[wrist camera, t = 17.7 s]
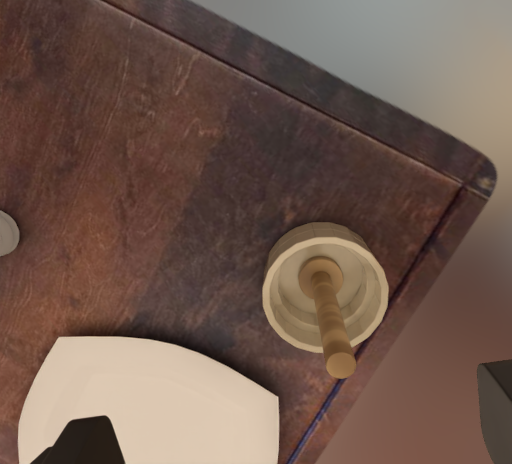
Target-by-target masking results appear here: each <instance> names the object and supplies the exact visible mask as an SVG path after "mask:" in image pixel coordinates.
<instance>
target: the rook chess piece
mask: <svg viewBox="0 0 512 464" xmlns="http://www.w3.org/2000/svg"><path fill="white" fill-rule="evenodd" d="M18 242H19V230H18V227H17V225H16V222H15V221H14V220H13V219H12V218H11V217H10V216H9V215H8V214H6V213H4V212H2V211H1V210H0V256H3V255H5V254H8V253H10V252H11V251H13V250H14V249H15V248H16V246H17V244H18Z"/></svg>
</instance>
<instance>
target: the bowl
mask: <svg viewBox="0 0 512 464" xmlns="http://www.w3.org/2000/svg"><path fill="white" fill-rule="evenodd" d="M316 256H326V257H329V258H331V259H333V260H334V261H335V262H336V263H337V264H338V265H339V267H340V269H341V271H342V274H343V284H342V287H341V289H340V291H339V292H338V293H337V294H336V297H337V301H338V304H339V307H340V311H341V314H342V318H343V321H344V324H345V328H346V331H347V334H348V338H349V341H350V345H351V348H352V347H354V346H355V345H357V344H358V343H360V342H362V341H363V340H365V339H366V338H368V337H369V336H370V335H371V334H372V332H373V331H374V330H375V329H376V328H377V326H378V325H379V324H380V323H381V321H382V318H383V316H384V313H385V311H386V308H387V305H388V289H389V288H388V284H387V280H386V277H385V274H384V270H383V268H382V267H381V265H380V264H379V262H378V260H377V259H376V257H375V256H374V254H373V253H372V251H371V250H370V248H369V247H368V246H367V244H366V243H365V241H364V240H363V239H362V238H361V237H360V236H359V235H357V234H356V233H354V232H353V231H352V230H350V229H349V228H347V227H344V226H341V225H338V224H334V223H331V222H330V223H329V222H312V223H308V224H305V225H302V226H299V227H296V228H293V229H292V230H291V231H289V232H288V233H286V234H285V235H284V236H282V237H281V238H280V239H279V240H278V241H277V243H276V244H275V245H274V247H273V248H272V249H271V251H270V253H269V255H268V258H267V261H266V265H265V268H264V278H263V288H262V293H263V308H264V311H265V313H266V316H267V319H268V321H269V323H270V325H271V326H272V327H273V328H274V329H275V331H276V332H277V333H278V334H279V336H280V337H281V338H283V339H284V340H286V341H287V342H289V343H290V344H292V345H294V346H295V347H297V348H300V349H304V350H307V351H311V352H315V353H324V352H323V347H322V341H321V335H320V330H319V324H318V319H317V313H316V307H315V302H314V299H311V298H309V297H308V296H306V295H305V294H304V293H303V292H302V290H301V288H300V286H299V280H298V274H299V270H300V268H301V266H302V265H303V263H304V262H305V261H307V260H308V259H310V258H312V257H316Z"/></svg>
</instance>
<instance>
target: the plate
mask: <svg viewBox="0 0 512 464" xmlns="http://www.w3.org/2000/svg"><path fill="white" fill-rule="evenodd" d="M102 415H106V416H107V417H108V418H109V419H110V420H111V423H112V425H113V428H114V431H115V434H116V437H117V440H118V443H119V446H120V449H121V451H122V454H123V457H124V460H125V463H126V464H277V460H278V451H279V402H278V396H276V395H275V394H273V393H271V392H270V391H268V390H267V389H265V388H263V387H262V386H260V385H258V384H257V383H255V382H254V381H252V380H250V379H249V378H247V377H245V376H243V375H242V374H240V373H238V372H237V371H235V370H233V369H231V368H230V367H228V366H226V365H224V364H222V363H220V362H218V361H216V360H214V359H212V358H209V357H207V356H205V355H203V354H201V353H199V352H196V351H193V350H190V349H187V348H184V347H181V346H178V345H175V344H171V343H166V342H161V341H156V340H152V339H143V338H132V337H121V336H75V337H58V339H57V341H56V342H55V344H54V346H53V347H52V349H51V350H50V352H49V354H48V355H47V357H46V359H45V361H44V363H43V364H42V366H41V368H40V370H39V372H38V374H37V376H36V378H35V379H34V381H33V384H32V386H31V388H30V391H29V393H28V395H27V398H26V400H25V403H24V406H23V410H22V413H21V417H20V420H19V429H18V452H19V464H30V463H31V462H32V461H33V460H34V459H35V458H37V457H38V456H39V455H40V454H41V453H42V452H43V451H44V450H45V449H46V448H47V447H52V446H53V445H54V443H55V442H56V440H57V439H58V437H59V435H60V434H61V432H62V431H63V429H64V428H65V426H66V425H67V423H68V422H69V421H71V420H73V419H80V418H87V417H94V416H102Z"/></svg>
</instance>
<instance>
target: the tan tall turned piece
mask: <svg viewBox="0 0 512 464" xmlns="http://www.w3.org/2000/svg"><path fill="white" fill-rule="evenodd" d="M298 280H299V286H300V288H301V290H302V292H303V293H304V294H305V295H306V296H308V297H309V298H311V299H314V302H315V307H316V313H317V319H318V324H319V330H320V335H321V341H322V347H323V352H324V358H325V364H326V369H327V371H328V373H329V374H330V375H332V376H333V377H335V378H346V377H349V376H350V375H352V374H353V372H354V371H355V368H356V361H355V358H354V355H353V351H352V348H351V345H350V341H349V338H348V334H347V331H346V328H345V324H344V321H343V318H342V314H341V311H340V307H339V304H338V301H337V297H336V294H337V293H338V292H339V291H340V289H341V287H342V284H343V274H342V271H341V269H340V267H339V265H338V264H337V263H336V262H335V261H334V260H333V259H331V258H329V257H326V256H316V257H312V258H310V259H308V260H307V261H305V262H304V263H303V265H302V266H301V268H300V270H299V274H298Z"/></svg>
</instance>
